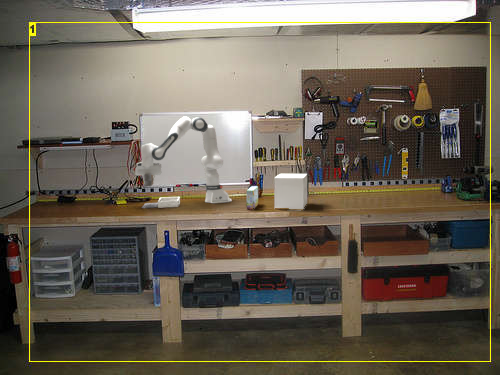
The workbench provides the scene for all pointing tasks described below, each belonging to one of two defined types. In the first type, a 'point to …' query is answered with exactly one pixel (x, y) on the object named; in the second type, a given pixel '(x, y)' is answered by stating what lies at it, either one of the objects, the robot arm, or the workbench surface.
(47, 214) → the workbench surface
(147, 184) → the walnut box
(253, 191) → the snack box
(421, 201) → the workbench surface
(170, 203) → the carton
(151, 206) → the rubber mat
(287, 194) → the cube
